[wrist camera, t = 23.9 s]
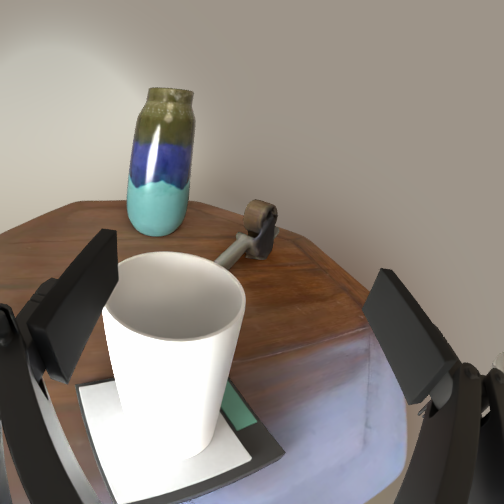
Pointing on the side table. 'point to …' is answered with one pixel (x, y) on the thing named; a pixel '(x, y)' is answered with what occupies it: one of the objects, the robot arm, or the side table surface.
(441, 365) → the robot arm
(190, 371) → the cup
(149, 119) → the vase
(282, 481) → the side table surface
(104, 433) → the scale
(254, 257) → the grey two-tone handled device
